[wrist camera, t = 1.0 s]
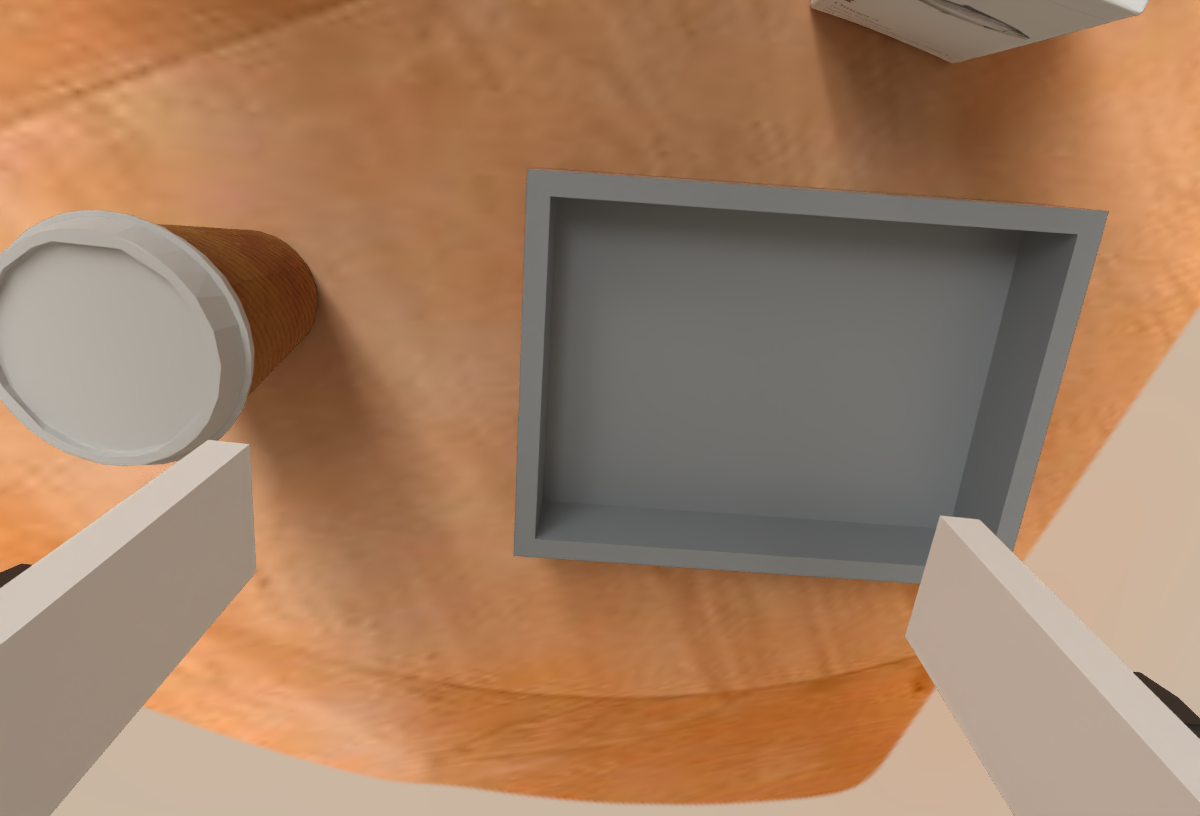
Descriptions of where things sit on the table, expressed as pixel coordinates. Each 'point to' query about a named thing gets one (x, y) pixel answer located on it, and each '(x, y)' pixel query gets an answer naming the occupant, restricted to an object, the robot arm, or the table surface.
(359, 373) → the table surface
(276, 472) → the table surface
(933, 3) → the supplement box
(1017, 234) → the bin
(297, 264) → the disposable coffee cup
